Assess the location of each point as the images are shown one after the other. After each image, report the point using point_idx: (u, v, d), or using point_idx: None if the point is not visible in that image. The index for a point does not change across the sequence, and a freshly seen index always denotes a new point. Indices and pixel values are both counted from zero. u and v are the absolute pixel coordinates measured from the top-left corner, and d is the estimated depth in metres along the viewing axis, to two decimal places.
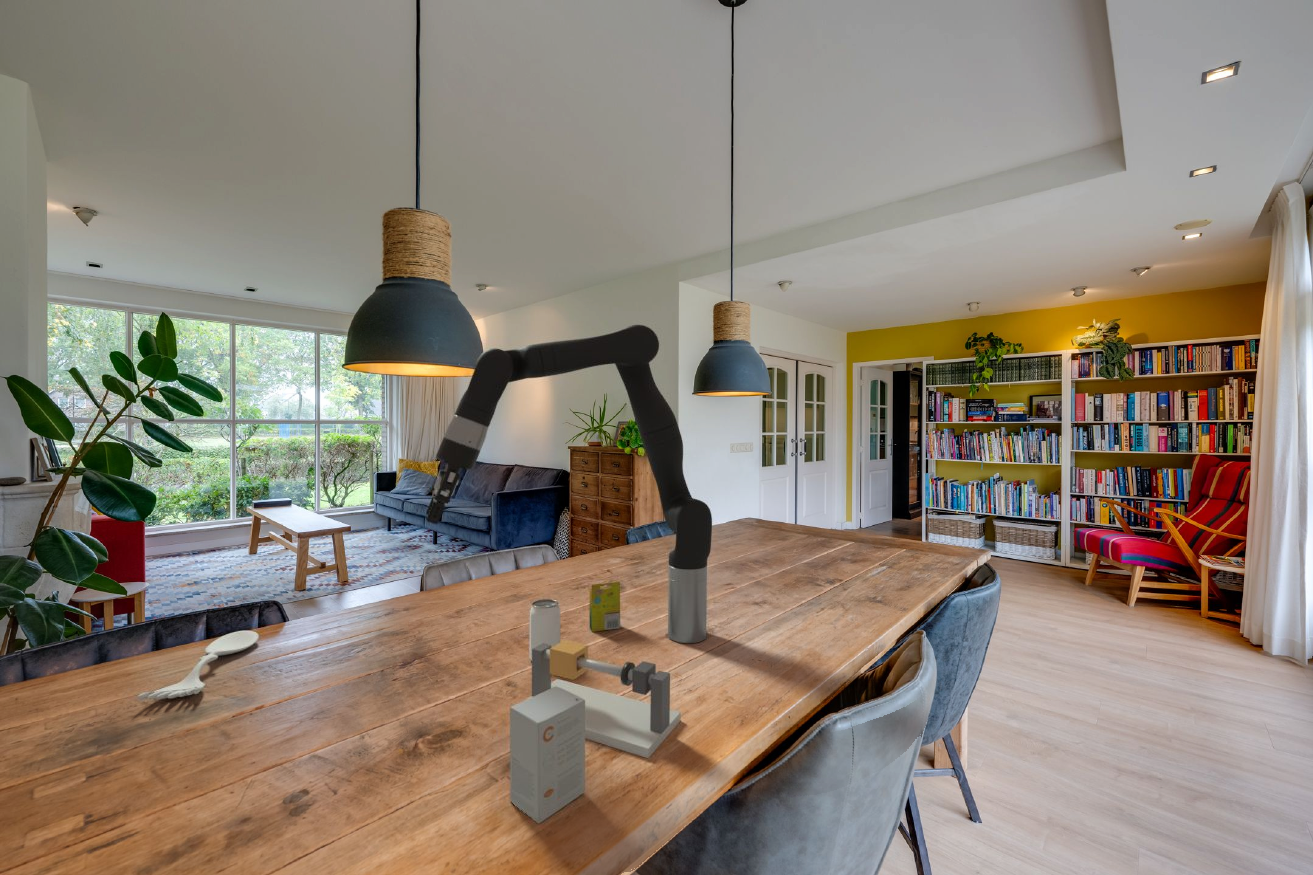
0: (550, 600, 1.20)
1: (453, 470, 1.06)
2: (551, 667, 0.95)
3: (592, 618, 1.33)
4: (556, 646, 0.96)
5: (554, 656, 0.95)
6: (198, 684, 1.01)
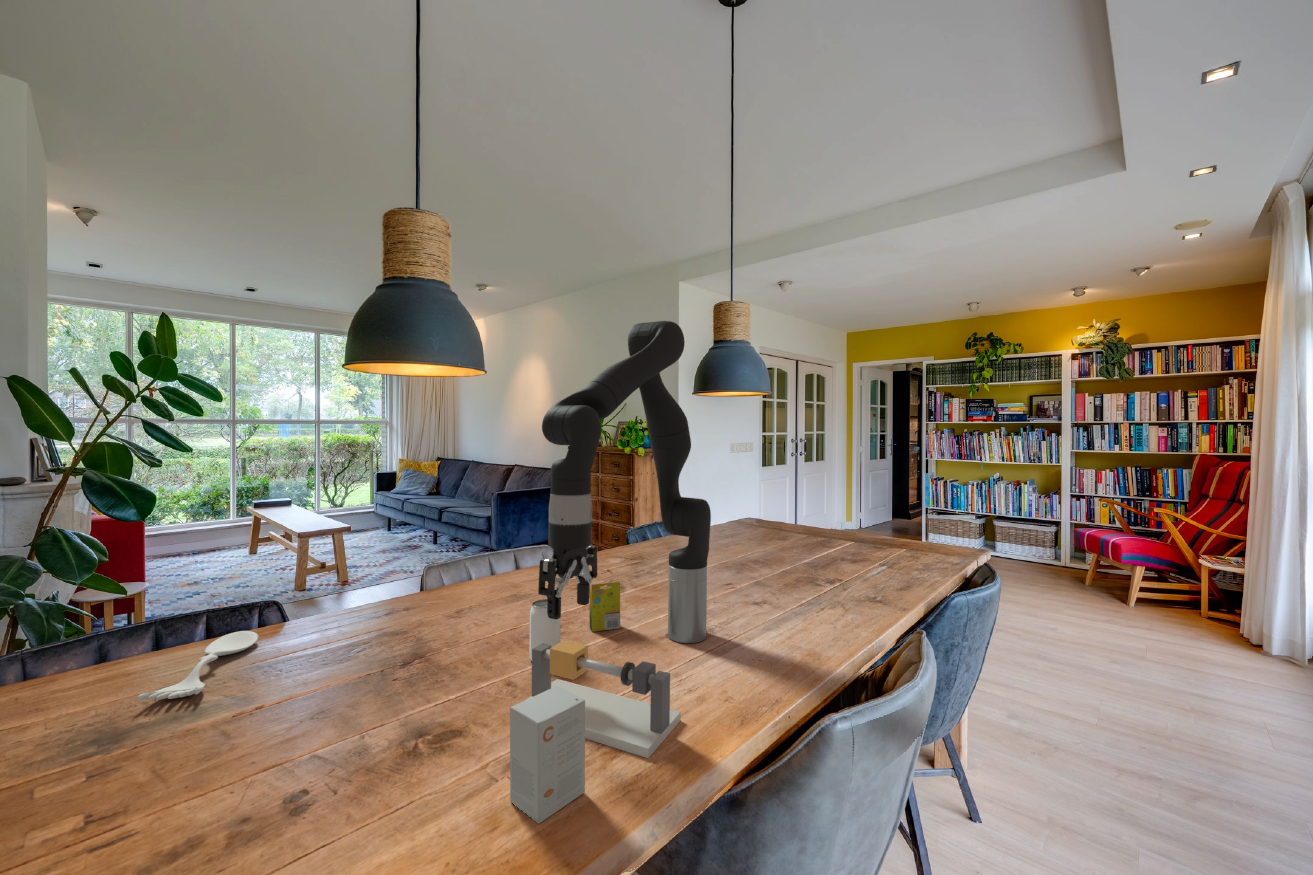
0: None
1: (557, 555, 0.93)
2: (551, 667, 0.95)
3: (592, 618, 1.33)
4: (556, 646, 0.96)
5: (554, 656, 0.95)
6: (198, 684, 1.01)
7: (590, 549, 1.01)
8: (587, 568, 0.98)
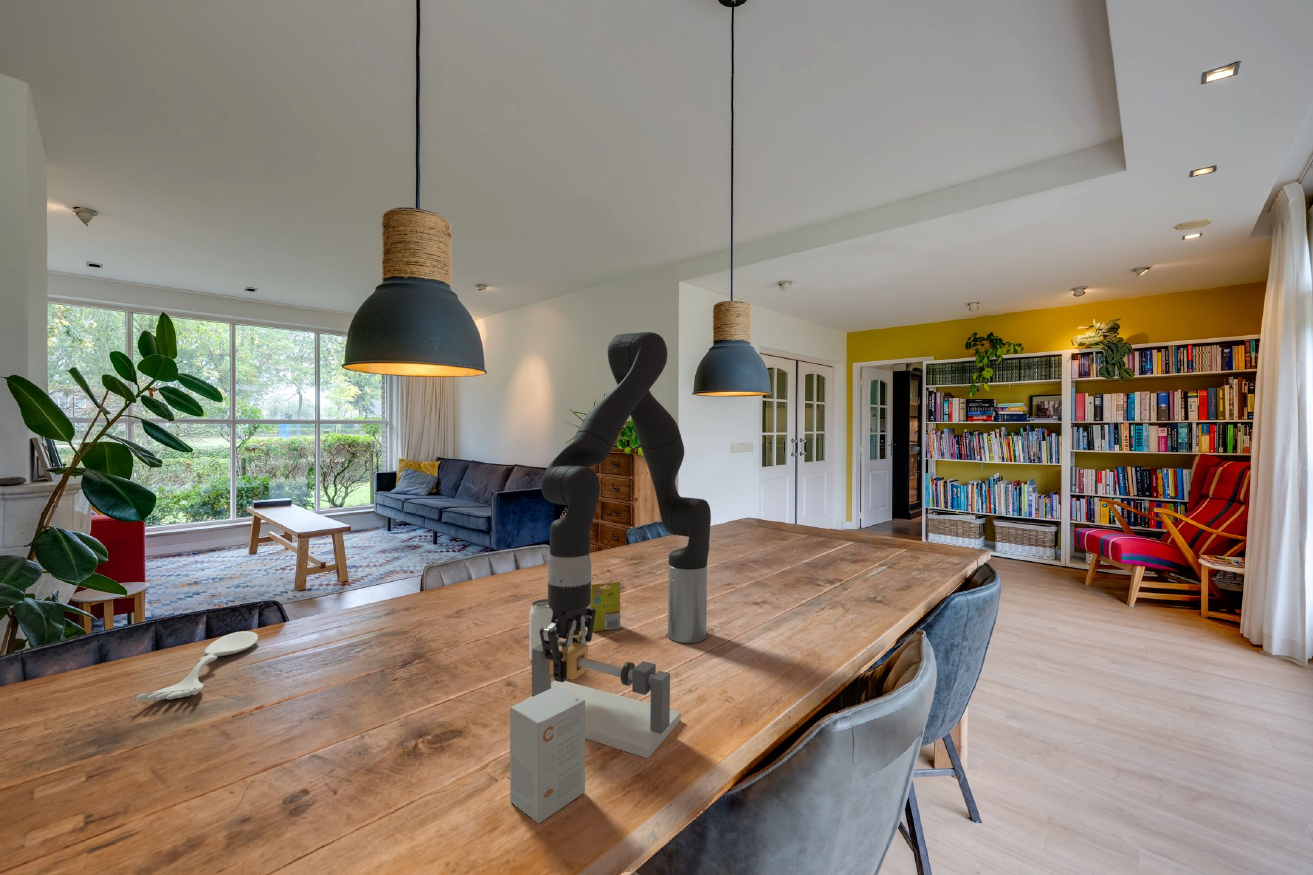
0: None
1: (557, 617, 0.93)
2: (551, 667, 0.95)
3: None
4: None
5: None
6: (197, 685, 1.01)
7: (589, 610, 1.01)
8: (584, 630, 0.97)
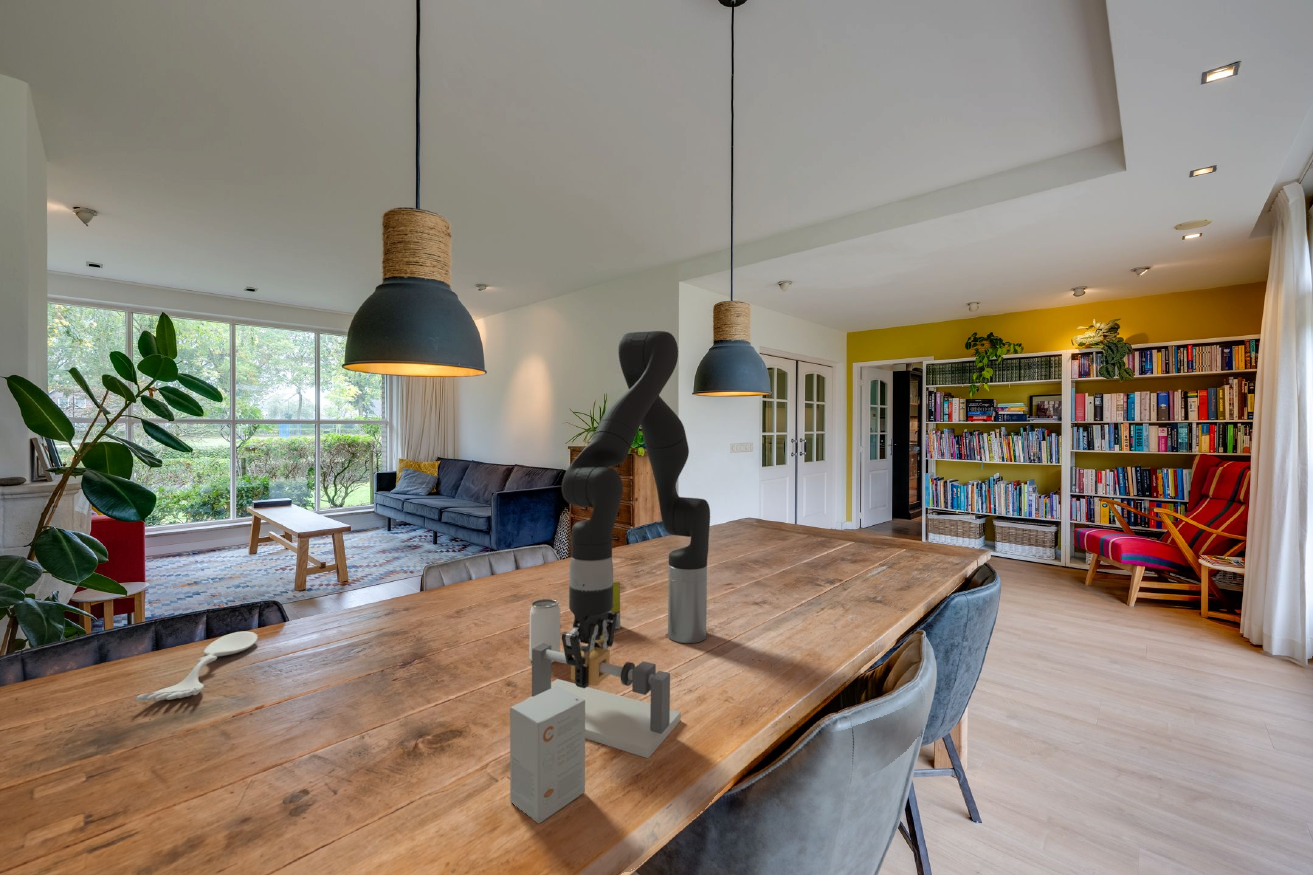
0: (550, 600, 1.20)
1: (579, 621, 0.91)
2: (572, 673, 0.93)
3: None
4: None
5: None
6: (197, 685, 1.01)
7: (610, 614, 0.99)
8: (606, 635, 0.95)
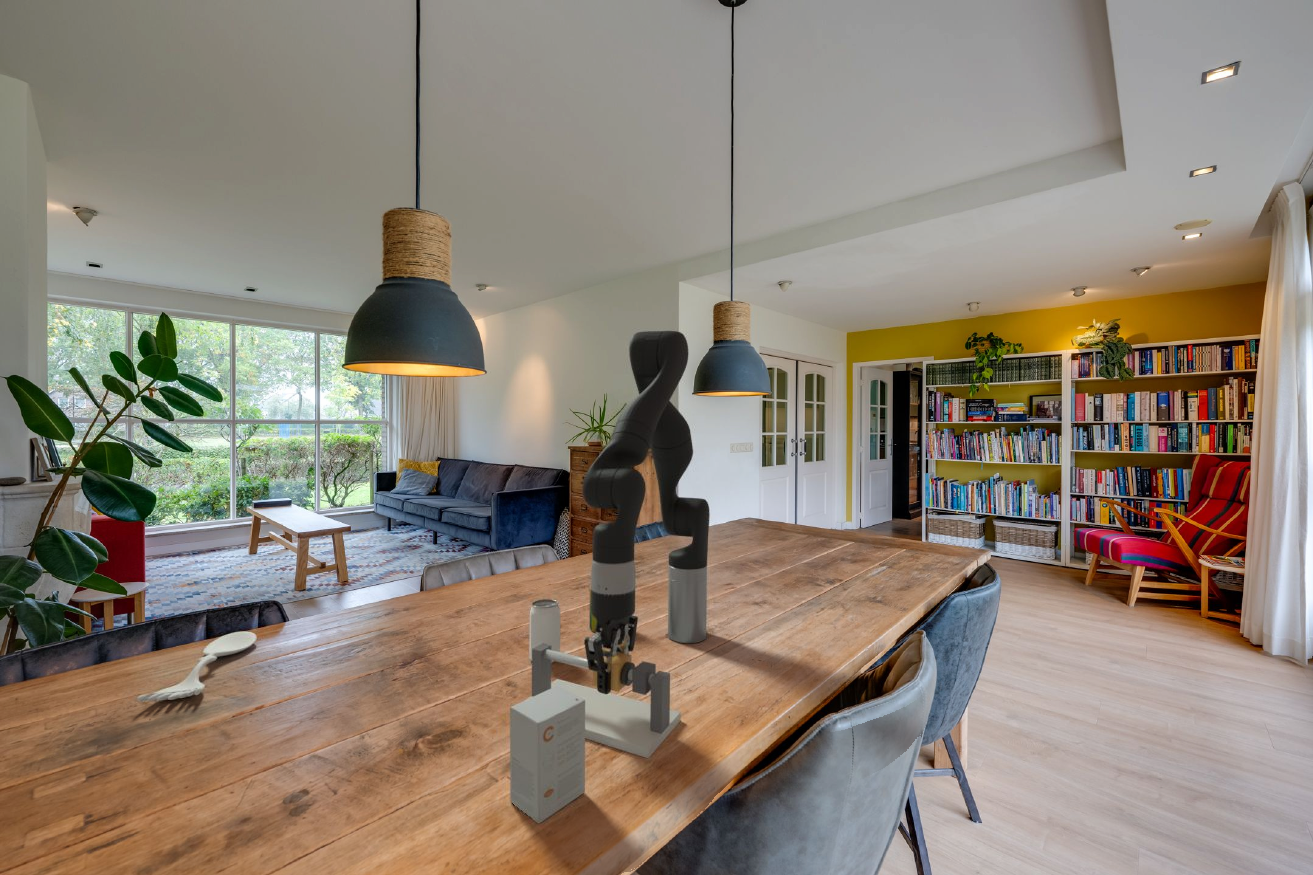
0: (550, 600, 1.20)
1: (601, 626, 0.89)
2: (594, 678, 0.91)
3: (592, 618, 1.33)
4: None
5: None
6: (198, 685, 1.01)
7: (631, 618, 0.97)
8: (627, 639, 0.93)
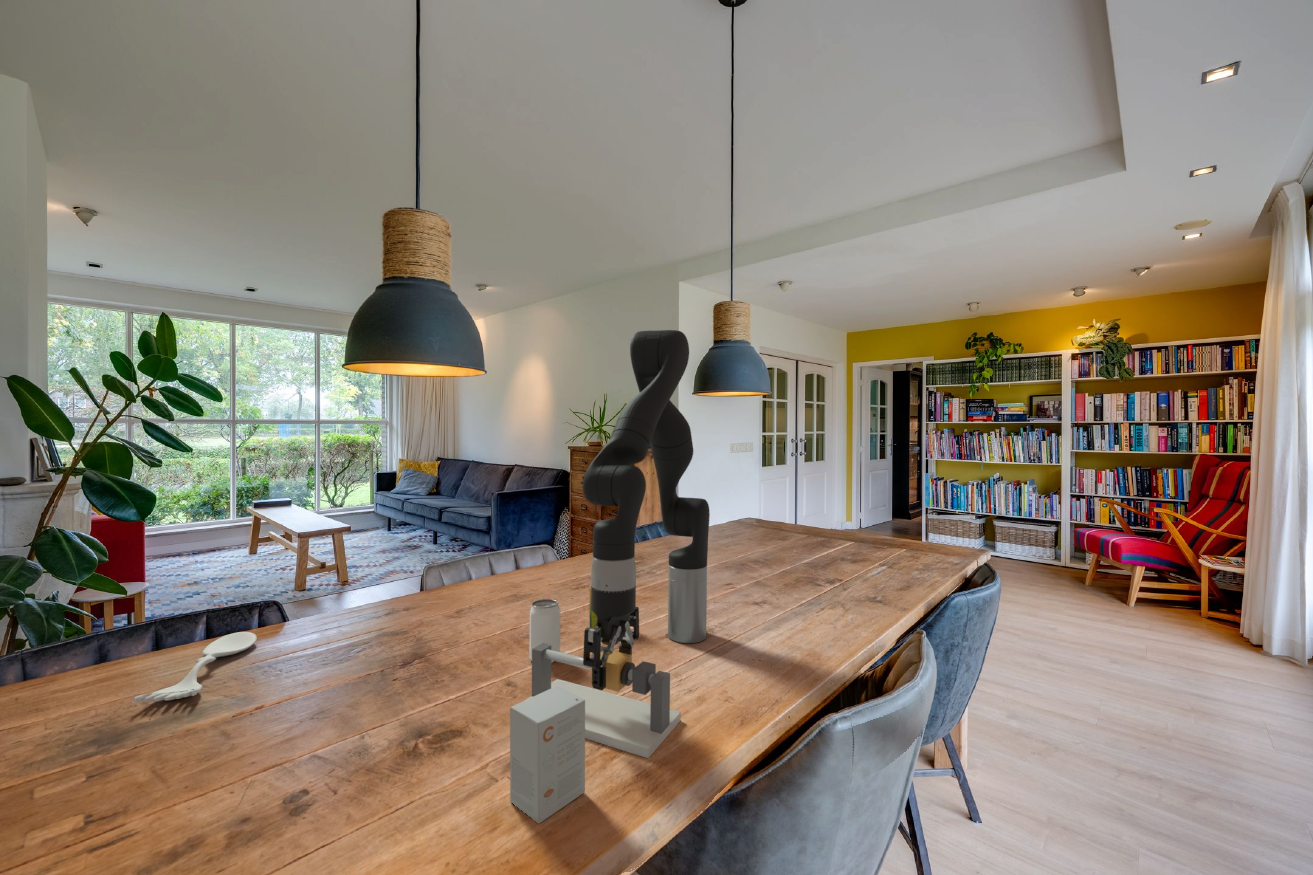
0: (550, 600, 1.20)
1: (601, 623, 0.89)
2: None
3: (592, 618, 1.33)
4: None
5: None
6: (196, 686, 1.01)
7: None
8: (630, 632, 0.94)
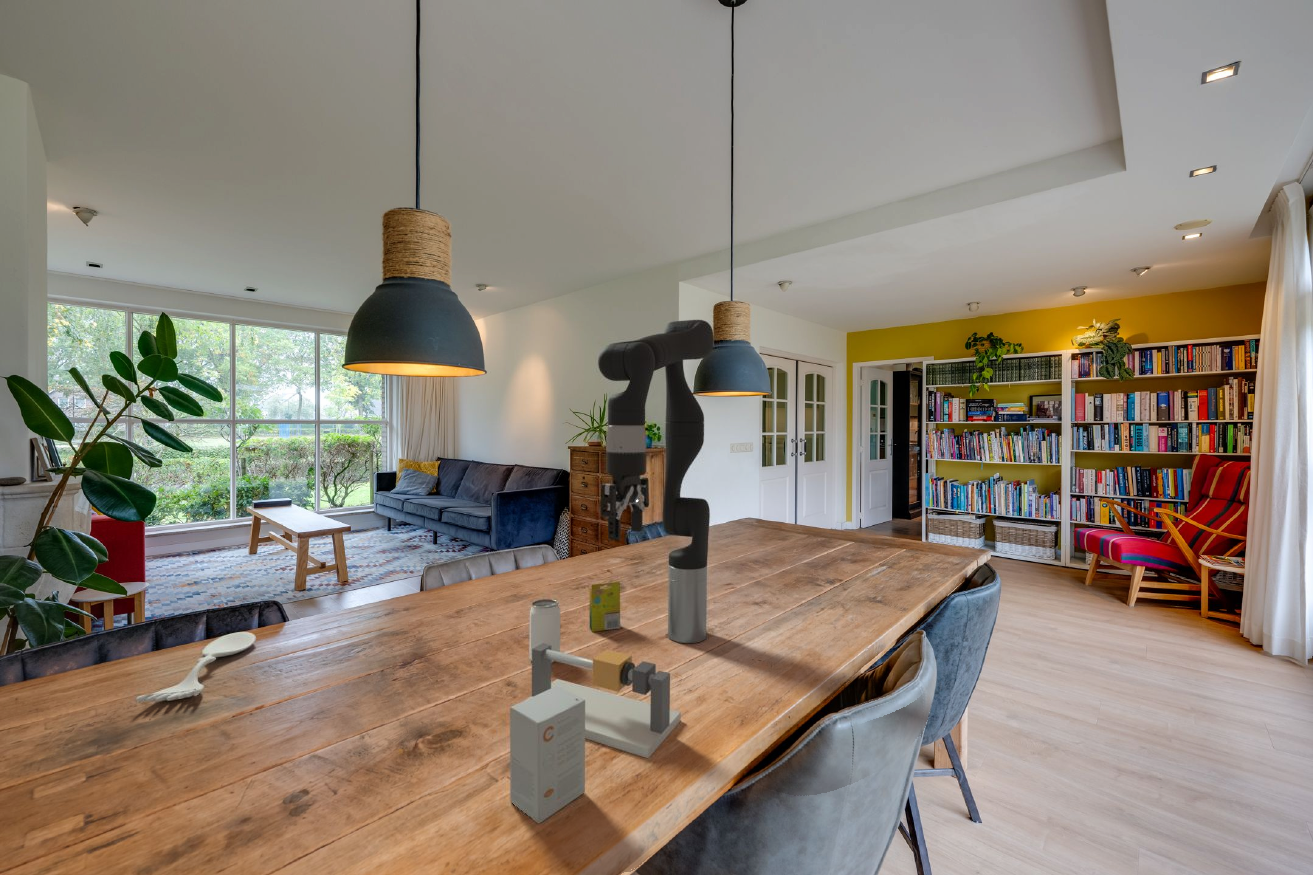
0: (550, 600, 1.20)
1: (616, 481, 1.00)
2: (594, 678, 0.91)
3: (592, 618, 1.33)
4: (599, 656, 0.92)
5: (597, 667, 0.91)
6: (197, 686, 1.01)
7: (642, 480, 1.08)
8: (641, 496, 1.05)
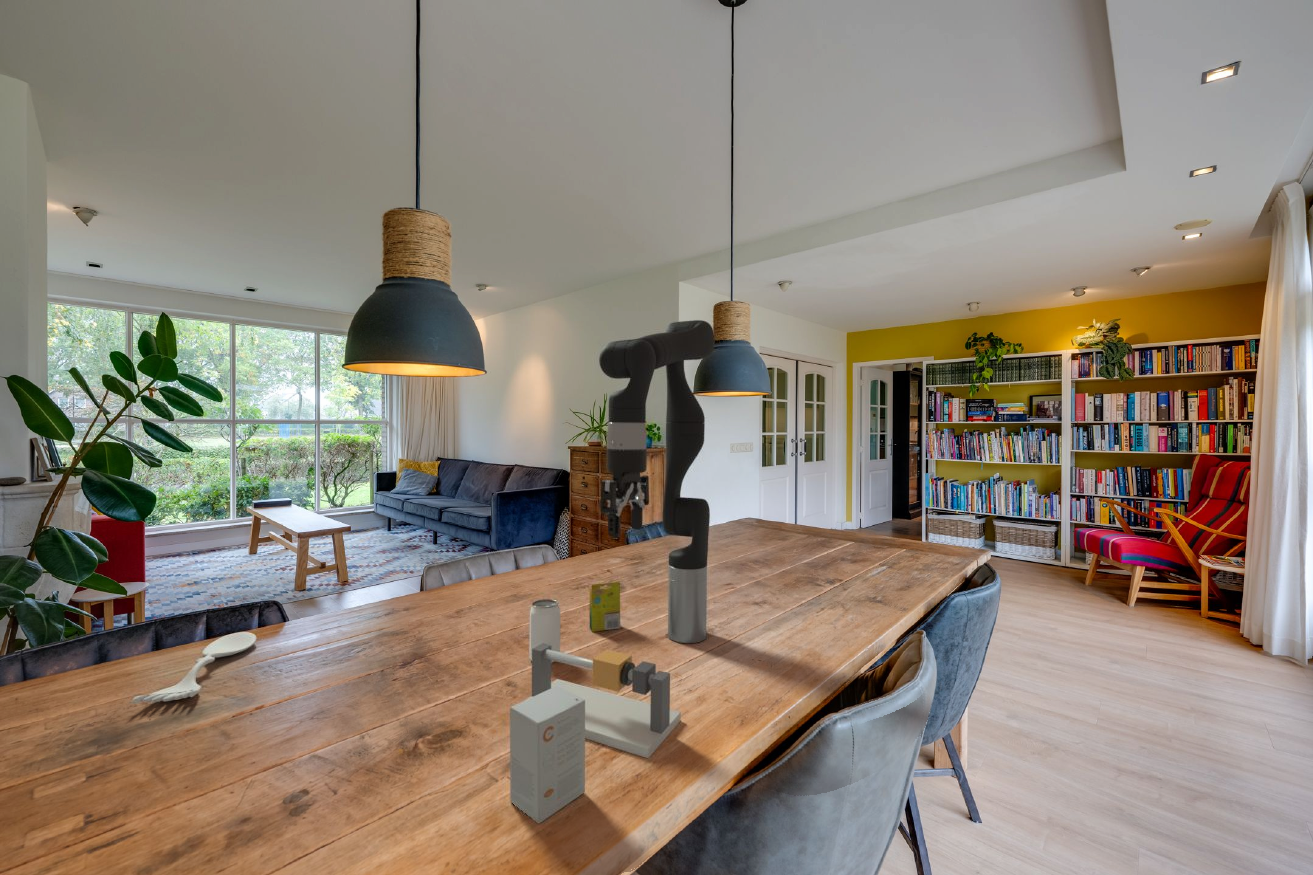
0: (550, 600, 1.20)
1: (616, 478, 1.00)
2: (594, 678, 0.91)
3: (592, 618, 1.33)
4: (599, 656, 0.92)
5: (597, 667, 0.91)
6: (194, 686, 1.00)
7: (643, 478, 1.08)
8: (641, 494, 1.05)
